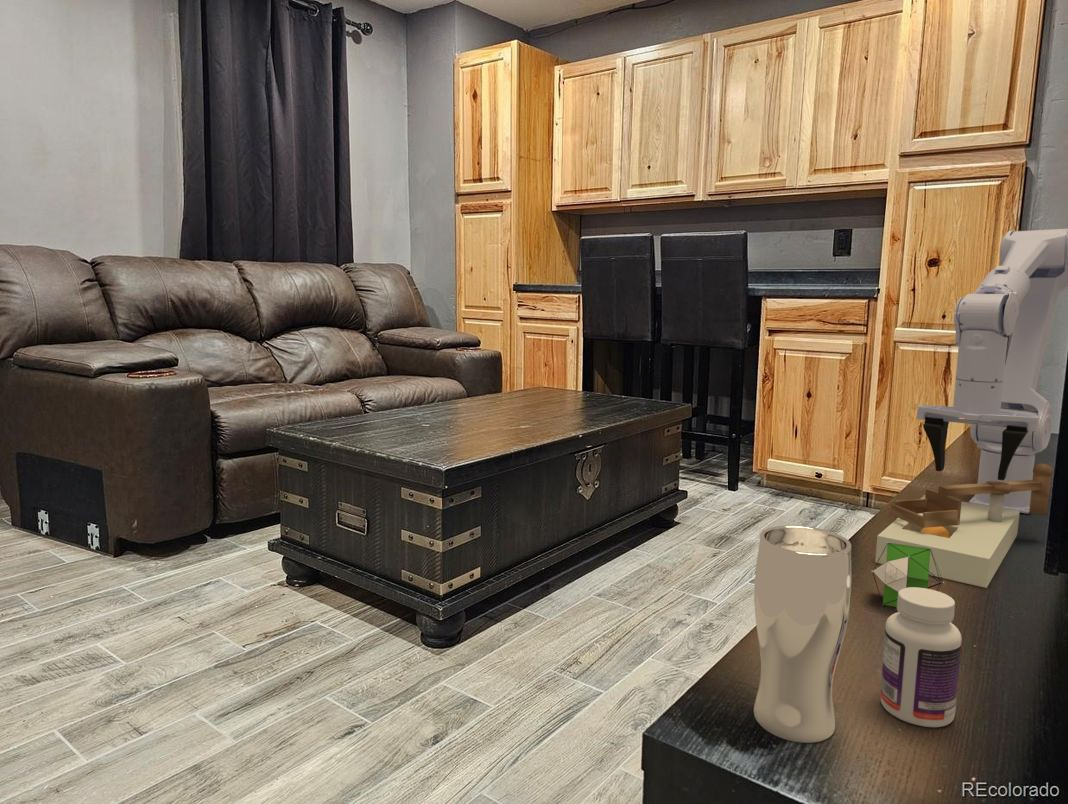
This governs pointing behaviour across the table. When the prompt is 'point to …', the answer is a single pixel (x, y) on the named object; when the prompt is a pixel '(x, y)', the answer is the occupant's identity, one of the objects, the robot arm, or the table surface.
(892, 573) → the geometric puzzle
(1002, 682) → the table surface
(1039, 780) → the table surface
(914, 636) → the pill bottle
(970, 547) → the cream shape sorter
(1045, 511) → the lever
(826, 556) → the beer glass
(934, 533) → the ball
